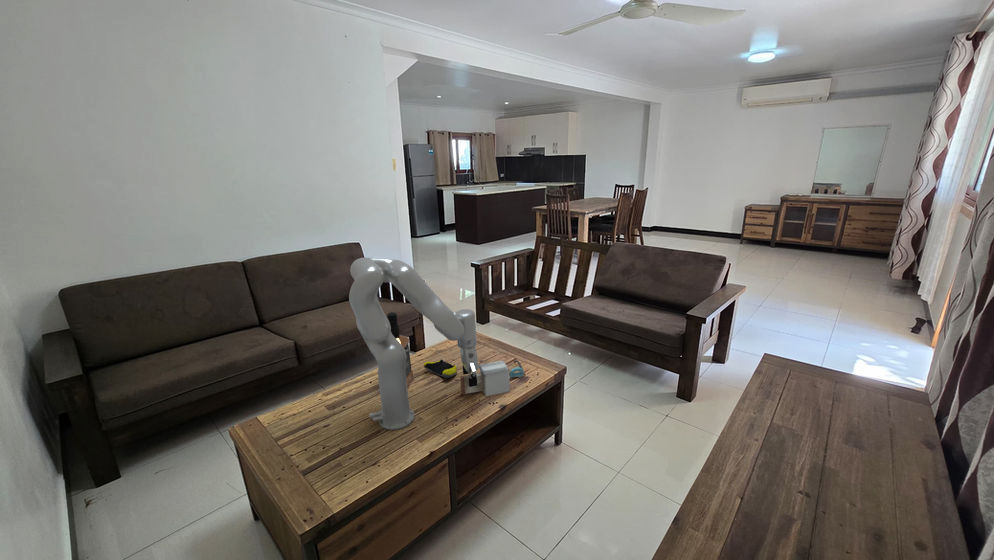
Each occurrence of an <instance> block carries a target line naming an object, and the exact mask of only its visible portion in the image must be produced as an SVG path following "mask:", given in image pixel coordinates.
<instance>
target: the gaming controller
mask: <svg viewBox="0 0 994 560" xmlns="http://www.w3.org/2000/svg"><path fill="white" fill-rule="evenodd" d="M423 367H424V369H425V370H427V371H430V372H431V373H434V374H435V375H438V376H441V377H442V378H446V379H449V378H451V377H454V376H455V375H456V374H457V373H458V369H457V367H458V364H454V365H452V363H449V362H447V361H445V360H444V359H439V360H438V361H437V362H436V361H425V362H424V364H423ZM453 375H454V376H453Z"/></svg>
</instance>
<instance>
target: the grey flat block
mask: <svg viewBox="0 0 994 560" xmlns="http://www.w3.org/2000/svg"><path fill="white" fill-rule="evenodd" d="M476 375H477V386H473V387H469V374H465V375H461V376H459V378H460V379H459V380H460V381H459V382H460V393H461V395H467V394H472V393H476V392H482V391H483V390H484V376H483V374H482V373H480V372H479V373H478V372H476Z"/></svg>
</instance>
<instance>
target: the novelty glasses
mask: <svg viewBox="0 0 994 560" xmlns="http://www.w3.org/2000/svg"><path fill="white" fill-rule="evenodd" d="M513 363H514V364H515V363H517V364H518V366H516V367H513V368H511V370H509V379H511V378H515V377H518V378H519V379H521V377H522V376H524V374H525V373H524V369H523V366H522V364H521V363H520V362H519V361H518V360H513Z"/></svg>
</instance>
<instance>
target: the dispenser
mask: <svg viewBox="0 0 994 560" xmlns="http://www.w3.org/2000/svg"><path fill="white" fill-rule="evenodd" d="M478 368H479V369H478V370H479V373H482V374H483V376H484V390H483V393H484V395H485V397H489V396H495V395H499V394H504V393H508V392H509V393H510V392H511V389H510V386H511V385H510V384H511V383H510V376H509V373H510V368H509V367H508V366H507V364H506V363H505V361H504V360H498V361H493V362H492V361H491V362H486V363H481V364H478Z"/></svg>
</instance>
